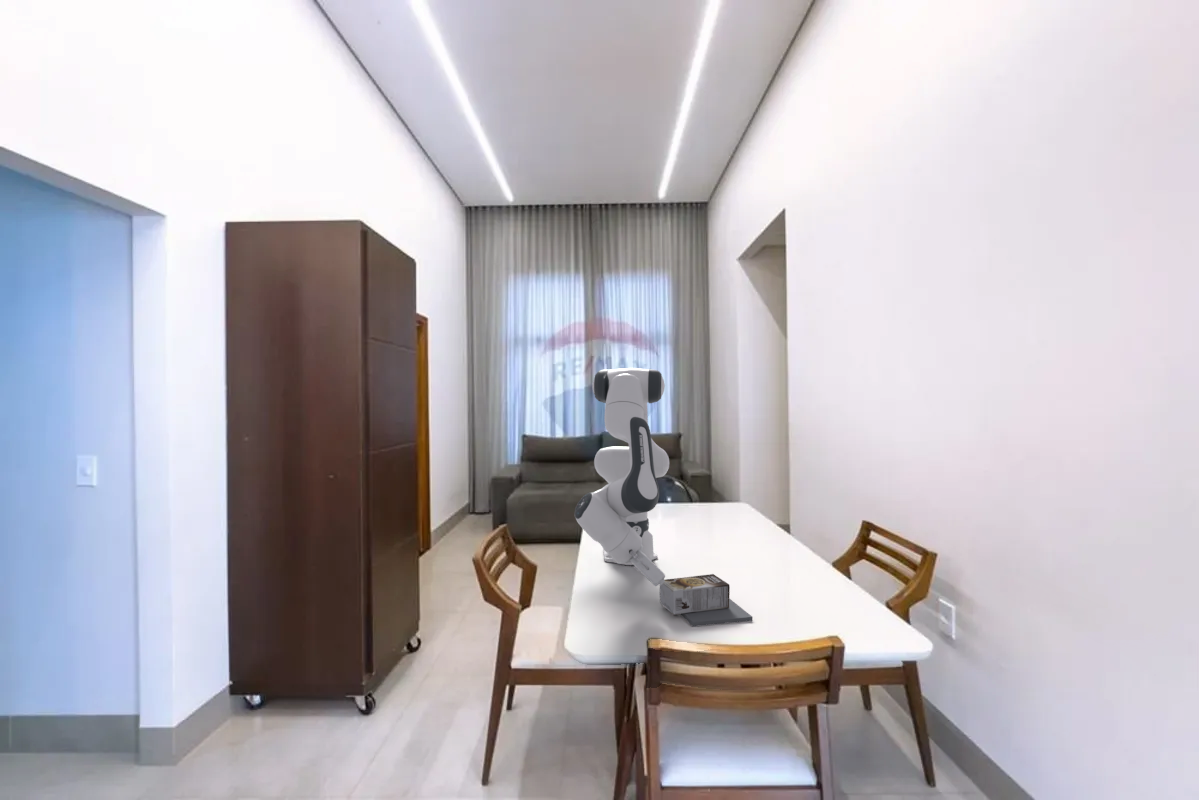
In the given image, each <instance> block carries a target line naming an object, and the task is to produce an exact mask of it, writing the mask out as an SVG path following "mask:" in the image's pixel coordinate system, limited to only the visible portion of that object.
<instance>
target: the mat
mask: <svg viewBox="0 0 1199 800" xmlns="http://www.w3.org/2000/svg"><path fill="white" fill-rule="evenodd" d="M680 615H681V616H682V617H683V619H685V620H686V621H687V622H688V623H689V624H690V625H691V627H702V626H712V625H722V624H734V623H742V622H752V621H753V616H752V614H749V612H747V611H746V610H745V609H743V608H742V607H741V606H740V605H738V604H737V603H736V602H735V601H734V600H732V599H731V598H730V597H729V608H724V609H716V610H708V611H700V612H691V613H683V614H680Z"/></svg>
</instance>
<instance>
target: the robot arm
mask: <svg viewBox="0 0 1199 800" xmlns="http://www.w3.org/2000/svg"><path fill="white" fill-rule="evenodd" d="M591 386H592V392H593V395H594V398H595V399H596V400H597V401H598V402H600V403H604V404H605V405H604V406H605V409H604V426H605V430H606V431H607V432H608V434H609V435H610V436H611V437H613V438H615V439H617V440H621V441H623V442H625V443H627V444H628V446H618V445H617V446H616V445H615V446H614V445H613V446H607V447H602V448H600V449H599V450H598V451H596V454H595V457H594V460H593V465H594V469H595V471H596V472H597V474H598V475H599V476H600V477H602V478H603V480H605V481H606V483H607V484H605V485H604V486H603V487H602V488H600V489H597V490H596V491H592V492H587V493H585V494H584V495H583V496H582V497H581V499H580V500H579V501H578V502H577V504H576V506H575V508H574V518H575V520H576V522H577V523H578V525H579V526H580V527H581V529H582V530H583V531H584V532H585V533H586V534H587V535H588V537H590V538H591V539H592V541H595V542H597V543H598V544H599V545H600V546H601V547H602V552H603V560H604V562H607V563H615V564H618V565H623V566H625V565H626V566H633V567H635V569H637V570H638V571H639V572H640V573H641V574H642V575H643V576H644V577H645V578H646V579H647V580H648V581H649V583H651V584H652V585H653V586H655V587H658V586H660V585H662V584H663V583H664V582H665V580H666V579H665V578H666V574H665V573H664V572H663V571H662V569H660V567H658V566H657V565H656V564H655V563H654V562H653V560H656V559H658V558H659V557H658V554H656V553H655V551H654V535H653V534H652V533H651V532H650V531H649V529H650V520H649V518H648V512H651V511H653V510H654V508H655V507H656V506H657V505H658V502H659V498H660V488H659V484H658V481H657V478H662V477H664V476H665V475H666V474H667V472H668V470H669V469H670V458H669V454H668V453H667V452H666V450H664V448H661V447H660V446H659V445H658V444H656V442H655V441H654V440H653V438H652V435H651V430H650V426H649V421H648V420H649V419H648V416H649V415H648V404H654V403H657V402H659V401H661V400H662V396H663V394H664V392H665V386H666V385H665V380H664V377H663V375H662V372H660V371H659V370H657V369H652V368H649V369H647V368H638V367H628V368H615V369H614V368H613V369H608V368H607V369H601V370H598V371H597V372H596V373H595V375H594V378H593V381H592V385H591Z"/></svg>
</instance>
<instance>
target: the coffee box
mask: <svg viewBox="0 0 1199 800" xmlns="http://www.w3.org/2000/svg"><path fill="white" fill-rule="evenodd" d="M730 592H731V591H730V584H729V583H727V582H726V581H725V580H723V579H722V578H720V577H718V576H717V575H715V574H714V573H711V574H702V575H694V576H684V577H677V578H676V577H675V578H667V579H665V582H664V583H663V584H662V585H659V603H660V604H661V605H662V606H663V607H664V608H665V609H667V611H668V612H670V613H671V615H675V616H676V615H681V614H683V613H691V612H700V611H708V610H716V609H724V608H729V598H730Z"/></svg>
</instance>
